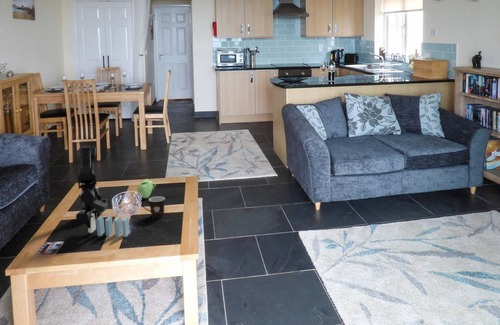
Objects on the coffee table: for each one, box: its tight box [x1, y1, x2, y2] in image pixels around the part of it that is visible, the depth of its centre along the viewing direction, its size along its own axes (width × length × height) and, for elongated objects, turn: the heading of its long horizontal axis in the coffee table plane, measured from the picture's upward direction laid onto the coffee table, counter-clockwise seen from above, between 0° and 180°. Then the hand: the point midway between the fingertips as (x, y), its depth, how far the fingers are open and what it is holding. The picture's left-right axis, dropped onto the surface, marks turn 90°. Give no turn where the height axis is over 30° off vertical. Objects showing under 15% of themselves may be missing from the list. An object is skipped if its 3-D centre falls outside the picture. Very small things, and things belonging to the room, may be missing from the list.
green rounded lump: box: [136, 178, 156, 199], centre depth 278 cm, size 12×11×11 cm
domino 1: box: [87, 213, 97, 234], centre depth 226 cm, size 2×5×8 cm, turn 175°
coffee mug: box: [141, 196, 166, 219], centre depth 249 cm, size 12×9×10 cm
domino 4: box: [113, 216, 123, 238], centre depth 225 cm, size 2×5×8 cm, turn 175°
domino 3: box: [104, 216, 114, 237], centre depth 225 cm, size 2×5×8 cm, turn 175°
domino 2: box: [95, 215, 106, 237], centre depth 226 cm, size 2×5×8 cm, turn 175°
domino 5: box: [121, 216, 131, 238], centre depth 224 cm, size 2×5×8 cm, turn 175°
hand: (91, 226), depth 226 cm, fingers closed on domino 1, 5 cm apart
